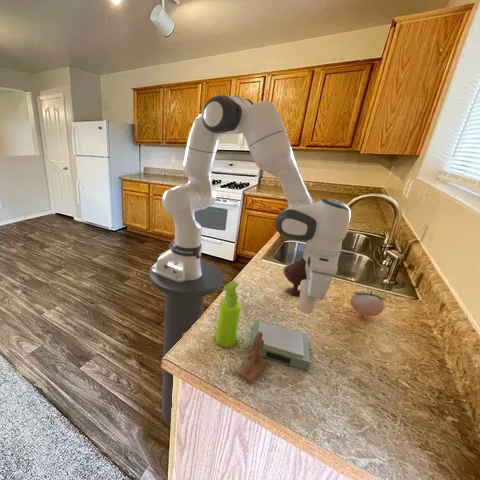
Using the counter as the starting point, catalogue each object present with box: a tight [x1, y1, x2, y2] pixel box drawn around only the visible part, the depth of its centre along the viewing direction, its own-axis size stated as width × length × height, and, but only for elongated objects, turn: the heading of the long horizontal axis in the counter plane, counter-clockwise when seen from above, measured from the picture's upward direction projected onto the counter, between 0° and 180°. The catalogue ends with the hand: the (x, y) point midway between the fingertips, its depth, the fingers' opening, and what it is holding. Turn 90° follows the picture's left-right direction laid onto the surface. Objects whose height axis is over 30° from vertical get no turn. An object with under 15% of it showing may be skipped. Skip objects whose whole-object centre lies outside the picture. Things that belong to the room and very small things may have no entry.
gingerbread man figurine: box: [237, 332, 267, 384], centre depth 68 cm, size 9×4×12 cm, turn 135°
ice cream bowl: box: [283, 257, 307, 297], centre depth 103 cm, size 11×11×15 cm
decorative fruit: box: [350, 290, 387, 317], centre depth 91 cm, size 9×8×10 cm
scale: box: [249, 319, 311, 372], centre depth 77 cm, size 15×12×4 cm
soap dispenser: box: [215, 280, 242, 348], centre depth 76 cm, size 6×7×20 cm
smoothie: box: [298, 279, 319, 315], centre depth 82 cm, size 6×6×14 cm
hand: (309, 295), depth 82 cm, fingers closed on smoothie, 6 cm apart
